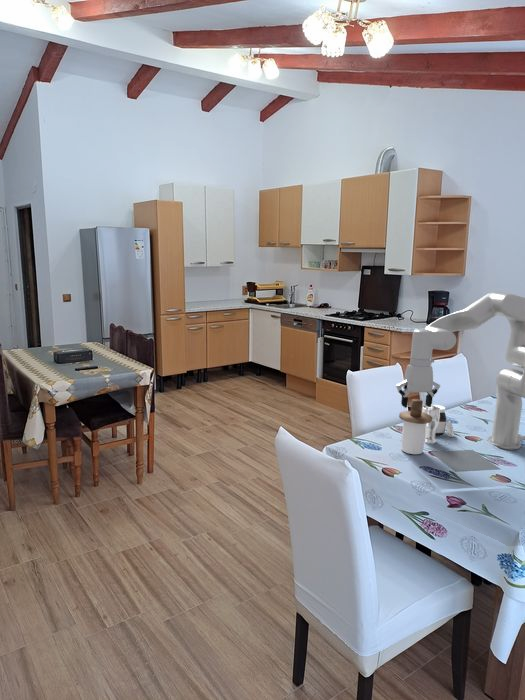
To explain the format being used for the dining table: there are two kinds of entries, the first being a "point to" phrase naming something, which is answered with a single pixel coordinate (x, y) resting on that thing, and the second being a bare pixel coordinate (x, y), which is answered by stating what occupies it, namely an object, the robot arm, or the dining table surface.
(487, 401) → the dining table surface
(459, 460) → the mat
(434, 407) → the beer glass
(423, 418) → the lid
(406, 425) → the cup
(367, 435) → the dining table surface
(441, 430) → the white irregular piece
